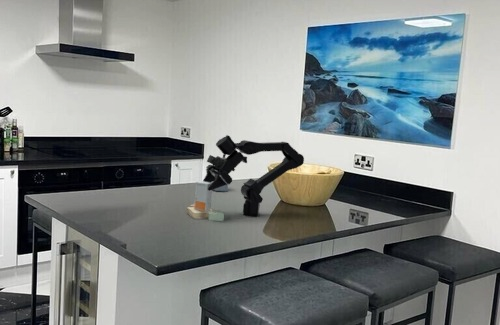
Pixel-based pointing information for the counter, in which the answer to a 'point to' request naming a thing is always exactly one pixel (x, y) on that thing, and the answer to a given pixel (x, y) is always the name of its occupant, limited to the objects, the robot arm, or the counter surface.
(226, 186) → the moka pot
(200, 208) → the skincare box
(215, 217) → the sage brick
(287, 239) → the counter surface
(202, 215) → the beech slab
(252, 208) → the robot arm
